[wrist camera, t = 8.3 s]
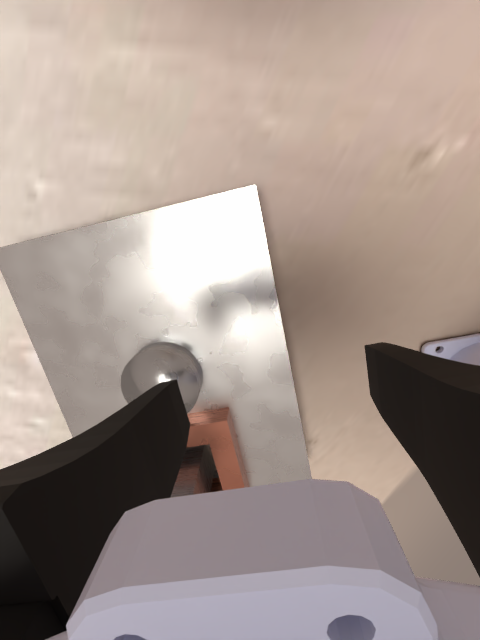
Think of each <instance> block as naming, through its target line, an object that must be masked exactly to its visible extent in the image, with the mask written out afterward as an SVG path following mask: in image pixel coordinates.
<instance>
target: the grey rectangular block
mask: <svg viewBox="0 0 480 640" xmlns="http://www.w3.org/2000/svg"><path fill="white" fill-rule="evenodd" d="M214 470H215V462H214V458H213V455H212V451H211V448H210V444H208V445H201V446H195V447H188V448H186V451H185V454H184V457H183V460H182V463H181V467H180V470H179V473H178V476H177V479H176V482H175V485H174V488H173V491H172V494H171V497H170V498H173V497H180V496H187V495H195V494H202V493H209V492H211V487H212V482H213V476H214Z"/></svg>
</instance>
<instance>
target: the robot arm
mask: <svg viewBox="0 0 480 640" xmlns="http://www.w3.org/2000/svg"><path fill="white" fill-rule="evenodd" d="M438 346H440V349H439V350H438V351H435V350H436V348H437V347H438ZM365 353H366V361H367V370H368V379H369V387H370V395H371V397H372V399H373V401H374V403H375V405H376V407H377V409H378V411H379V413H380V414H381V416H382V418H383V419H384V421H385V422H386V424H387V425H388V426H389V428H390V429H391V431H392V432H393V434H394V435H395V436H396V438H397V439H398V440H399V442H400V443H401V445H402V446H403V447H404V449H405V450H406V452H407V453H408V454H409V456H410V457H411V458H412V460H413V461H414V463H415V464H416V465H417V467H418V468H419V470H420V471H421V473H422V474H423V476H424V477H425V479H426V480H427V482H428V484H429V485H430V487H431V489H432V491H433V492H434V494H435V496H436V497H437V499H438V501H439V503H440V504H441V506H442V508H443V510H444V512H445V513H446V515H447V517H448V519H449V521H450V522H451V524H452V526H453V528H454V530H455V531H456V533H457V535H458V537H459V539H460V540H461V543H462V544H463V546H464V548H465V550H466V552H467V554H468V556H469V558H470V559H471V561H472V563H473V565H474V567H475V569H476V571H477V573H478V575H479V577H480V333H479V334H473V335H468V336H462V337H456V338H451V339H445V340H439V341H434V342H428V343H426V344H424V345H423V347H422V349H421V352H418V351H415V350H411V349H408V348H404V347H401V346H397V345H393V344H389V343H383V342H381V343H376V344H370V345H365ZM189 430H190V422H189V418H188V415H187V412H186V408H185V405H184V402H183V399H182V395H181V392H180V389H179V385H178V382H177V379H176V380H171V381H165V382H161V383H159V384H157V385H155V386H154V387H152V388H150V389H149V390H147V391H146V392H144V393H143V394H142V395H140V396H139V397H137V398H136V399H134V400H133V401H132V402H130V403H129V404H127V405H126V406H124V407H123V408H121V409H120V410H118V411H117V412H115V413H114V414H112V415H111V416H109V417H108V418H106V419H105V420H103V421H102V422H100V423H98V424H97V425H95V426H93V427H92V428H90V429H88V430H86V431H84V432H83V433H81V434H79V435H77V436H75V437H74V438H72V439H70V440H68V441H66V442H63V443H61V444H59V445H57V446H55V447H53V448H51V449H49V450H47V451H44V452H42V453H40V454H38V455H36V456H33V457H31V458H29V459H26V460H24V461H21V462H19V463H16V464H14V465H11V466H8V467H6V468H3V469H1V470H0V640H480V586H477V585H470V584H463V583H456V582H450V581H444V580H437V579H430V578H424V577H417V576H414V573H413V571H412V569H411V567H410V565H409V563H408V561H407V558H406V556H405V554H404V552H403V550H402V547H401V546H400V543H399V541H398V539H397V537H396V535H395V532H394V530H393V528H392V526H391V524H390V522H389V520H388V518H387V516H386V514H385V512H384V510H383V508H382V506H381V503H380V501H379V500H378V499H377V498H375V497H373V496H371V495H370V494H368V493H366V492H365V491H363V490H361V489H359V488H358V487H356V486H354V485H353V484H351V483H349V482H344V481H331V480H317V479H304V480H297V481H290V482H283V483H275V484H268V485H261V486H253V487H246V488H239V489H231V490H224V491H217V492H209V493H202V494H195V495H187V496H180V497H173V498H170V497H171V494H172V491H173V488H174V485H175V482H176V479H177V476H178V473H179V470H180V467H181V463H182V460H183V457H184V454H185V451H186V447H187V442H188V436H189Z"/></svg>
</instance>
